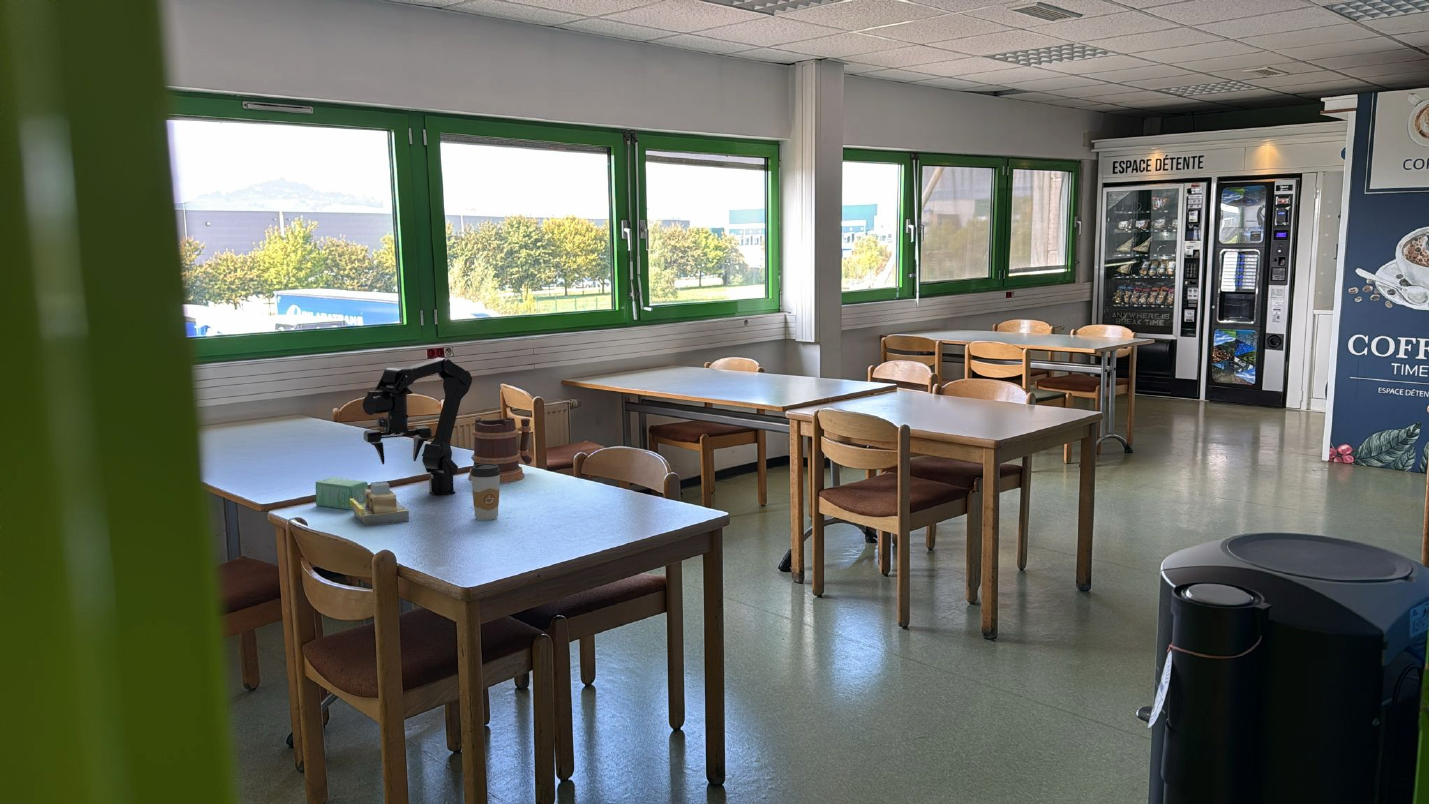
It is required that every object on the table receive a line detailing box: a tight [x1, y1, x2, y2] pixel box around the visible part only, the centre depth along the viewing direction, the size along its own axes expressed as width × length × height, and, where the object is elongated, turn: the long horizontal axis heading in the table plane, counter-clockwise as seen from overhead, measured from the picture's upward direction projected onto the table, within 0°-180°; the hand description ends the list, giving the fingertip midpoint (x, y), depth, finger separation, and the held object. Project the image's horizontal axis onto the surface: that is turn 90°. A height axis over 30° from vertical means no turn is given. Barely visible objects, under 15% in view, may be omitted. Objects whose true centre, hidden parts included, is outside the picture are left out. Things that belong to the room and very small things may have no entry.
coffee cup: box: [469, 464, 501, 521], centre depth 296 cm, size 8×8×15 cm
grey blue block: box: [370, 480, 391, 495], centre depth 294 cm, size 5×4×2 cm
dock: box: [349, 498, 410, 527], centre depth 295 cm, size 13×14×5 cm
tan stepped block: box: [365, 488, 397, 513], centre depth 295 cm, size 11×6×4 cm, turn 31°
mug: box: [467, 416, 533, 484], centre depth 348 cm, size 18×23×20 cm
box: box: [315, 477, 369, 511], centre depth 309 cm, size 7×14×8 cm, turn 70°
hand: (399, 462), depth 310 cm, fingers open, 9 cm apart
